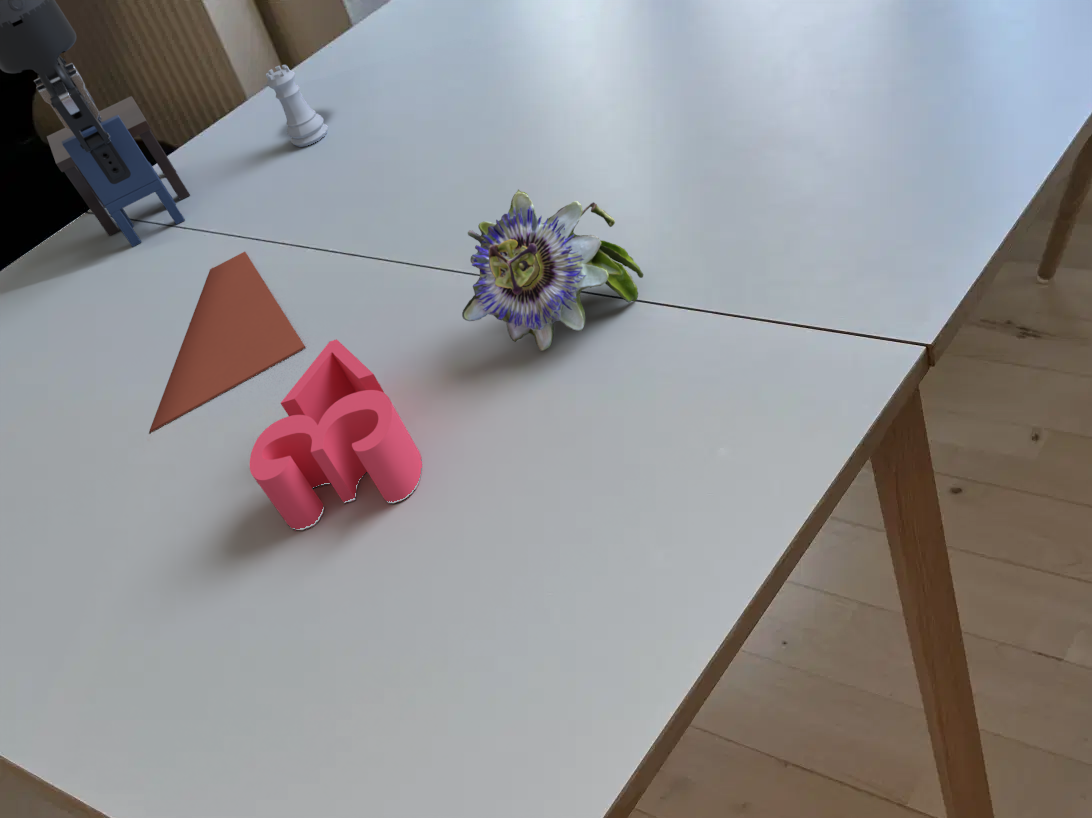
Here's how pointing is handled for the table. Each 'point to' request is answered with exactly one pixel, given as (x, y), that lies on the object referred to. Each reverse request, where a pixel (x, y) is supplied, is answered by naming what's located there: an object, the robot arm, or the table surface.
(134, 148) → the chair
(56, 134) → the side table
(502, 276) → the passion flower
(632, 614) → the table surface
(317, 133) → the rook chess piece
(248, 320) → the flat trapezoid
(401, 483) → the letters
